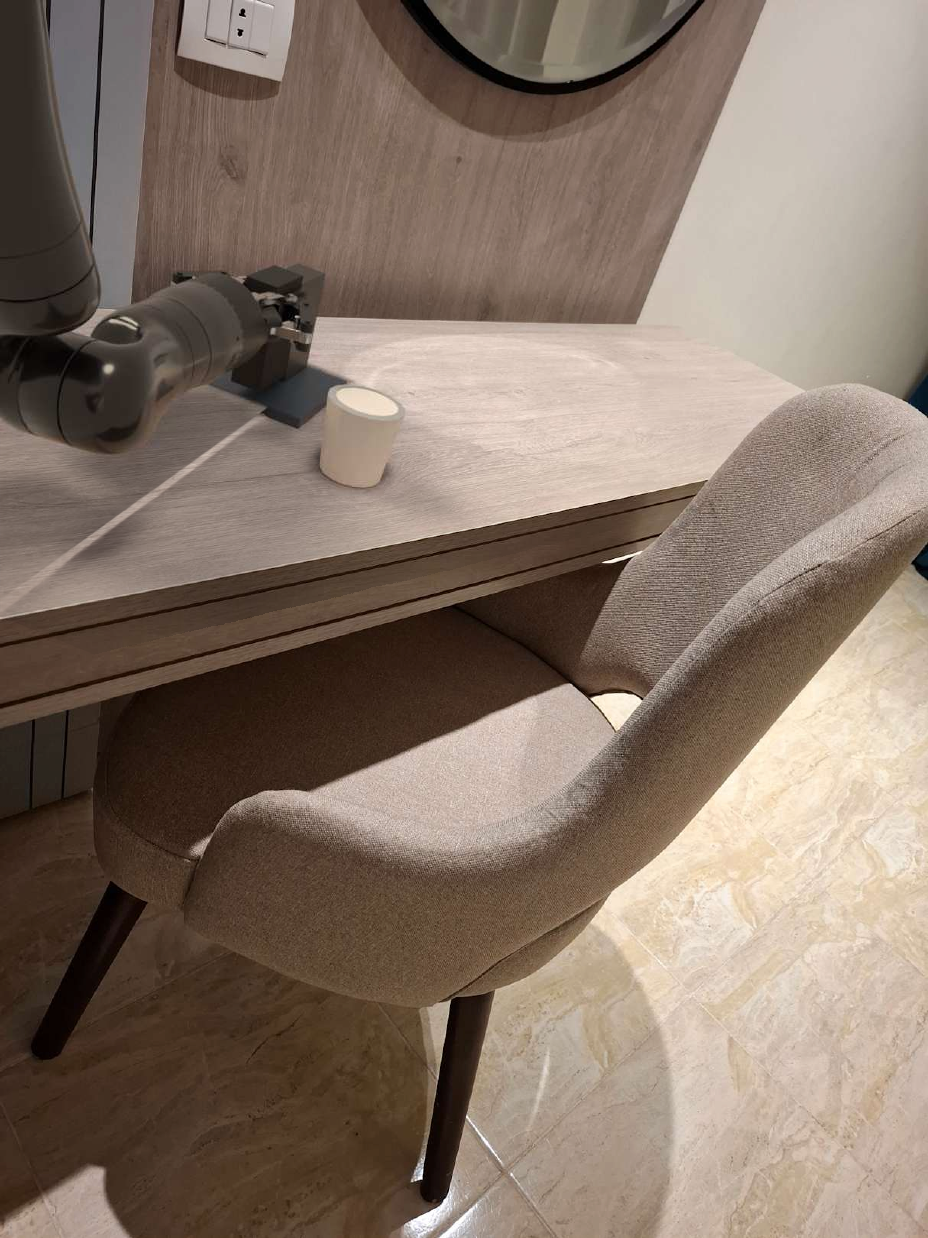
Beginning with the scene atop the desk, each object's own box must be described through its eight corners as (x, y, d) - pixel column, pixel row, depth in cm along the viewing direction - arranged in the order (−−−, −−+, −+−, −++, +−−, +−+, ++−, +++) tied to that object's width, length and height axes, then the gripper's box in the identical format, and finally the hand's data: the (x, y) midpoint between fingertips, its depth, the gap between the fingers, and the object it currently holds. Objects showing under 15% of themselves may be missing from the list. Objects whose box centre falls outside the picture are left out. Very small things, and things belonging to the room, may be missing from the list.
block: (230, 381, 85) (246, 275, 80) (257, 364, 90) (274, 264, 85) (259, 392, 85) (277, 287, 80) (285, 375, 90) (303, 275, 85)
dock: (182, 383, 87) (197, 268, 80) (242, 349, 97) (259, 246, 91) (298, 428, 86) (321, 315, 80) (345, 389, 97) (368, 288, 91)
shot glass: (401, 480, 83) (421, 411, 80) (354, 498, 78) (373, 425, 74) (345, 446, 86) (362, 378, 82) (296, 462, 80) (311, 389, 77)
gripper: (287, 316, 69) (361, 277, 84) (119, 253, 70) (222, 225, 84) (270, 407, 73) (344, 354, 88) (112, 346, 74) (212, 304, 88)
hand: (284, 291), depth 86 cm, fingers closed on block, 3 cm apart
